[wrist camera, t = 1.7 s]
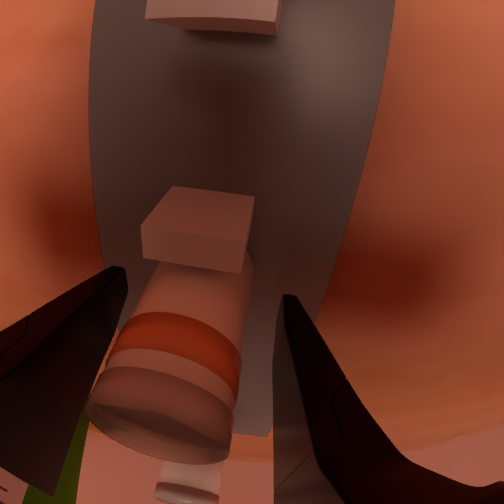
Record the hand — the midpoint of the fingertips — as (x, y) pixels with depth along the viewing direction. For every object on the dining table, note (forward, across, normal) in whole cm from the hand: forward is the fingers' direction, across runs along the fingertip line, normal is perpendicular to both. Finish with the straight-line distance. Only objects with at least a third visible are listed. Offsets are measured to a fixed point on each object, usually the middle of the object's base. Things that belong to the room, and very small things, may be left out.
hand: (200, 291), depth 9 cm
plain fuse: (+1, 0, +10) cm, 10 cm away
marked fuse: (+1, 0, 0) cm, 1 cm away
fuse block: (+2, 0, 0) cm, 2 cm away
